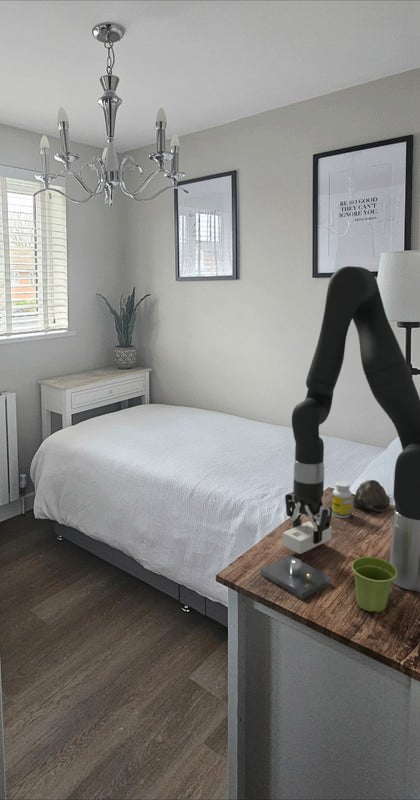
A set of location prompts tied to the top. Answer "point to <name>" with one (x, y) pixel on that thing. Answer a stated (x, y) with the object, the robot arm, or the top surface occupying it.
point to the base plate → (296, 576)
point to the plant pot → (373, 582)
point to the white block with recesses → (303, 537)
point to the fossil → (371, 497)
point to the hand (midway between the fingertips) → (306, 537)
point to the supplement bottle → (341, 500)
